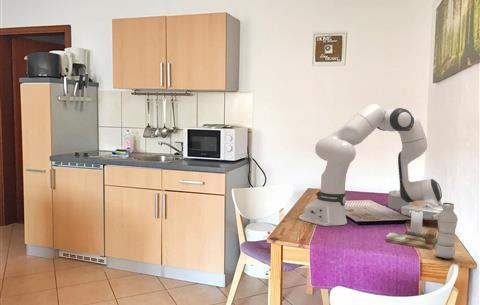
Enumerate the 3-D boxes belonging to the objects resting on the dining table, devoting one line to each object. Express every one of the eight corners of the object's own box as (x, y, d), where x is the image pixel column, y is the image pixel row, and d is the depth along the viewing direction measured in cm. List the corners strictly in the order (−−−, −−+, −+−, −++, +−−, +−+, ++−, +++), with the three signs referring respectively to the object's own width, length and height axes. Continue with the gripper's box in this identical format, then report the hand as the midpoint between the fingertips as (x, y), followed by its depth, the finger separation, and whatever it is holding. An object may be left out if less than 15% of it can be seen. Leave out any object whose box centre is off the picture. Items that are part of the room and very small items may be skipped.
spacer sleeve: (409, 234, 186) (410, 211, 185) (411, 232, 189) (413, 209, 188) (420, 236, 183) (421, 213, 182) (422, 234, 187) (424, 211, 186)
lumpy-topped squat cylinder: (390, 208, 233) (391, 192, 232) (385, 203, 246) (386, 188, 245) (410, 209, 231) (411, 193, 230) (404, 204, 244) (405, 189, 243)
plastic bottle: (435, 253, 163) (439, 200, 160) (455, 256, 159) (459, 203, 157) (433, 258, 157) (436, 204, 155) (453, 262, 154) (458, 206, 152)
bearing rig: (383, 241, 176) (384, 228, 176) (391, 234, 186) (392, 222, 185) (431, 250, 166) (432, 236, 166) (437, 242, 176) (438, 229, 176)
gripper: (405, 200, 211) (398, 205, 200) (451, 206, 200) (446, 212, 188) (404, 213, 212) (397, 219, 200) (450, 220, 200) (445, 226, 189)
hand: (421, 216), depth 194 cm, fingers open, 8 cm apart
